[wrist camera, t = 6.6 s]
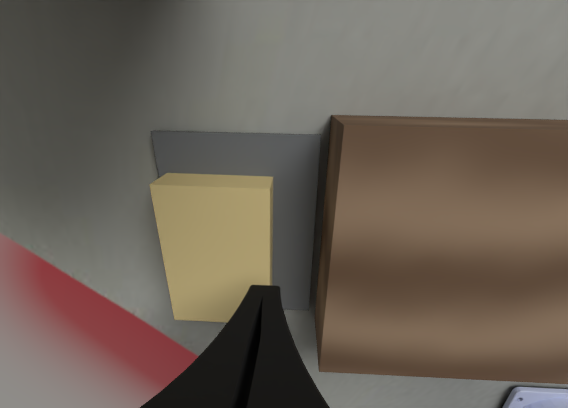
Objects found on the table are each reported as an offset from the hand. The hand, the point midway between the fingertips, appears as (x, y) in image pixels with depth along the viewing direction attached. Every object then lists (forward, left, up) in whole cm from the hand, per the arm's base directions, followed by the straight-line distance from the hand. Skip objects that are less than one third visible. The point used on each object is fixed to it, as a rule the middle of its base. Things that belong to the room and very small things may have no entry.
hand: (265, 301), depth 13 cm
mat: (+1, +2, -5) cm, 5 cm away
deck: (+1, -11, -5) cm, 12 cm away
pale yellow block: (0, +3, -3) cm, 4 cm away
